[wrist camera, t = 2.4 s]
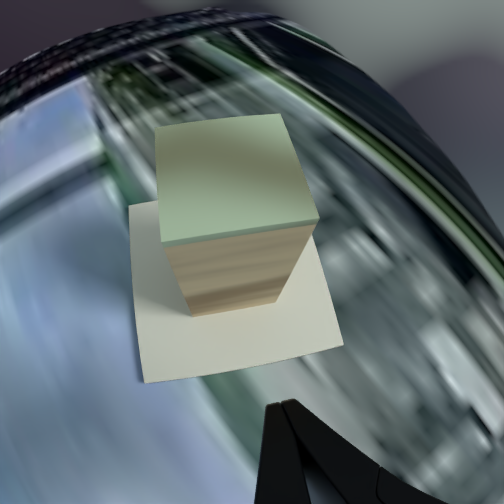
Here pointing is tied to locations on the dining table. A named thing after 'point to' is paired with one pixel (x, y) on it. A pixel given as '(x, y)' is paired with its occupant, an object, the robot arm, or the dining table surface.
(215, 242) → the beech block
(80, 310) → the dining table surface
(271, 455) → the robot arm
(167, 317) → the stone tile
